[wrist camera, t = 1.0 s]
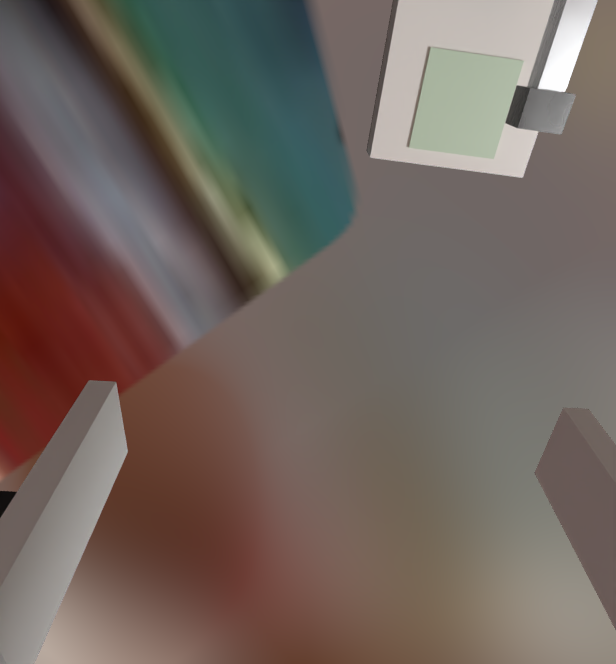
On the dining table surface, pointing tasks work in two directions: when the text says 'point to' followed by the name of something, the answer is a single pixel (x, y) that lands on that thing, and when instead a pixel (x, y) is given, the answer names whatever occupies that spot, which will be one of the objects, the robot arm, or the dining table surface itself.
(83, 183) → the dining table surface
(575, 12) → the bar
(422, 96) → the base plate with post
